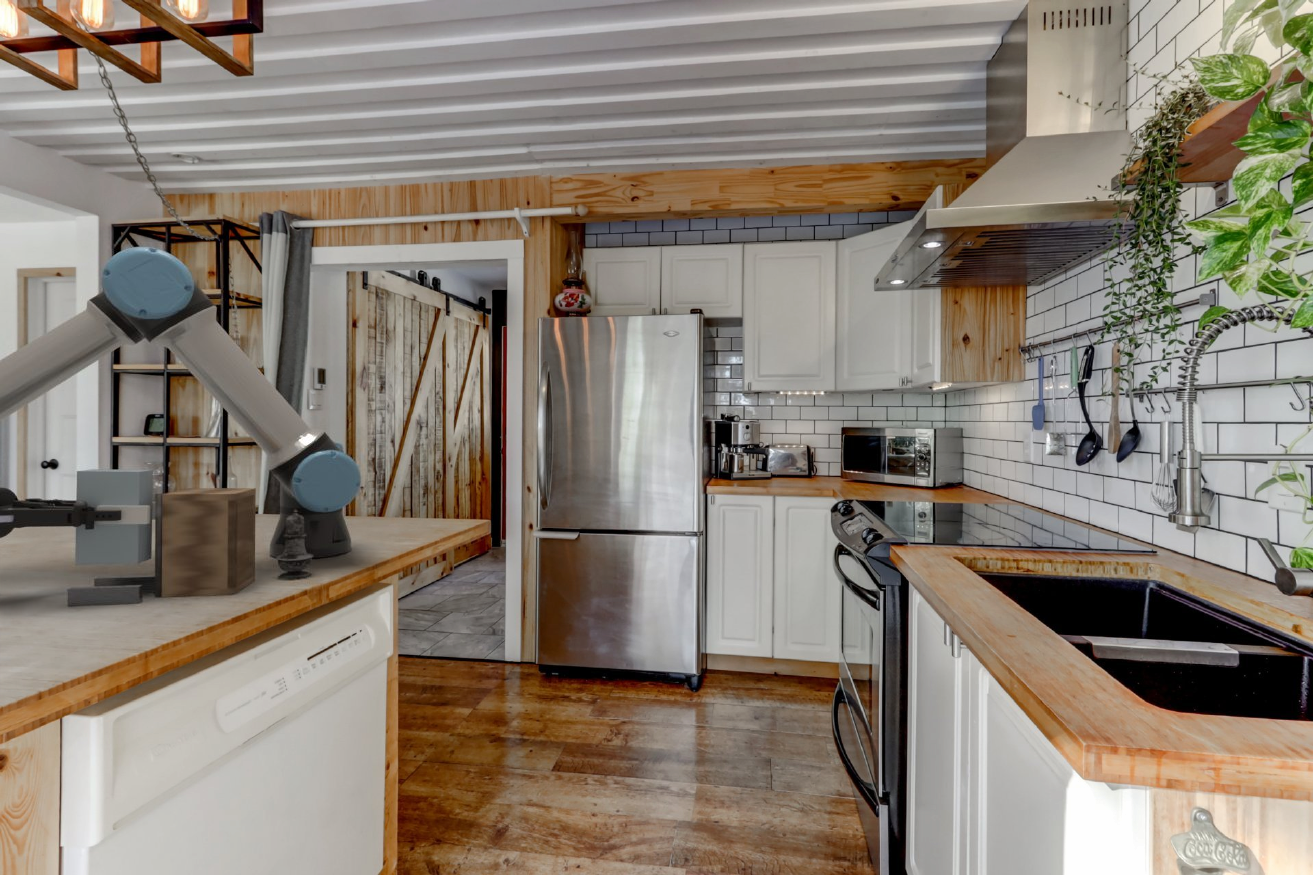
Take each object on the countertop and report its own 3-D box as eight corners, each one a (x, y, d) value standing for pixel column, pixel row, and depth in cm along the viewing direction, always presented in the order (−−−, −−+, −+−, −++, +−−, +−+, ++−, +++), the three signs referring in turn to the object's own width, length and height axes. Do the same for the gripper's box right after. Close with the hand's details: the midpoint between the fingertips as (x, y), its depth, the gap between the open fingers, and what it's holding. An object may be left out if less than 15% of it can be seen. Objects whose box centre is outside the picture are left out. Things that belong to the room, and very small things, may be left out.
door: (70, 566, 95) (72, 471, 95) (91, 559, 100) (93, 469, 100) (134, 565, 97) (135, 472, 97) (151, 558, 102) (153, 470, 102)
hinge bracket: (67, 605, 95) (67, 588, 95) (97, 592, 102) (98, 576, 102) (138, 603, 97) (139, 586, 97) (163, 590, 104) (163, 574, 104)
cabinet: (153, 597, 100) (154, 494, 100) (180, 583, 109) (181, 488, 109) (234, 594, 103) (235, 494, 102) (254, 580, 112) (255, 488, 111)
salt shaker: (307, 571, 119) (308, 506, 119) (317, 576, 115) (318, 509, 115) (271, 575, 115) (272, 508, 115) (280, 582, 111) (281, 512, 111)
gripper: (13, 529, 103) (182, 528, 109) (-80, 549, 86) (125, 547, 92) (14, 482, 103) (182, 483, 109) (-79, 493, 86) (126, 494, 92)
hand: (156, 512), depth 100 cm, fingers closed on door, 4 cm apart
